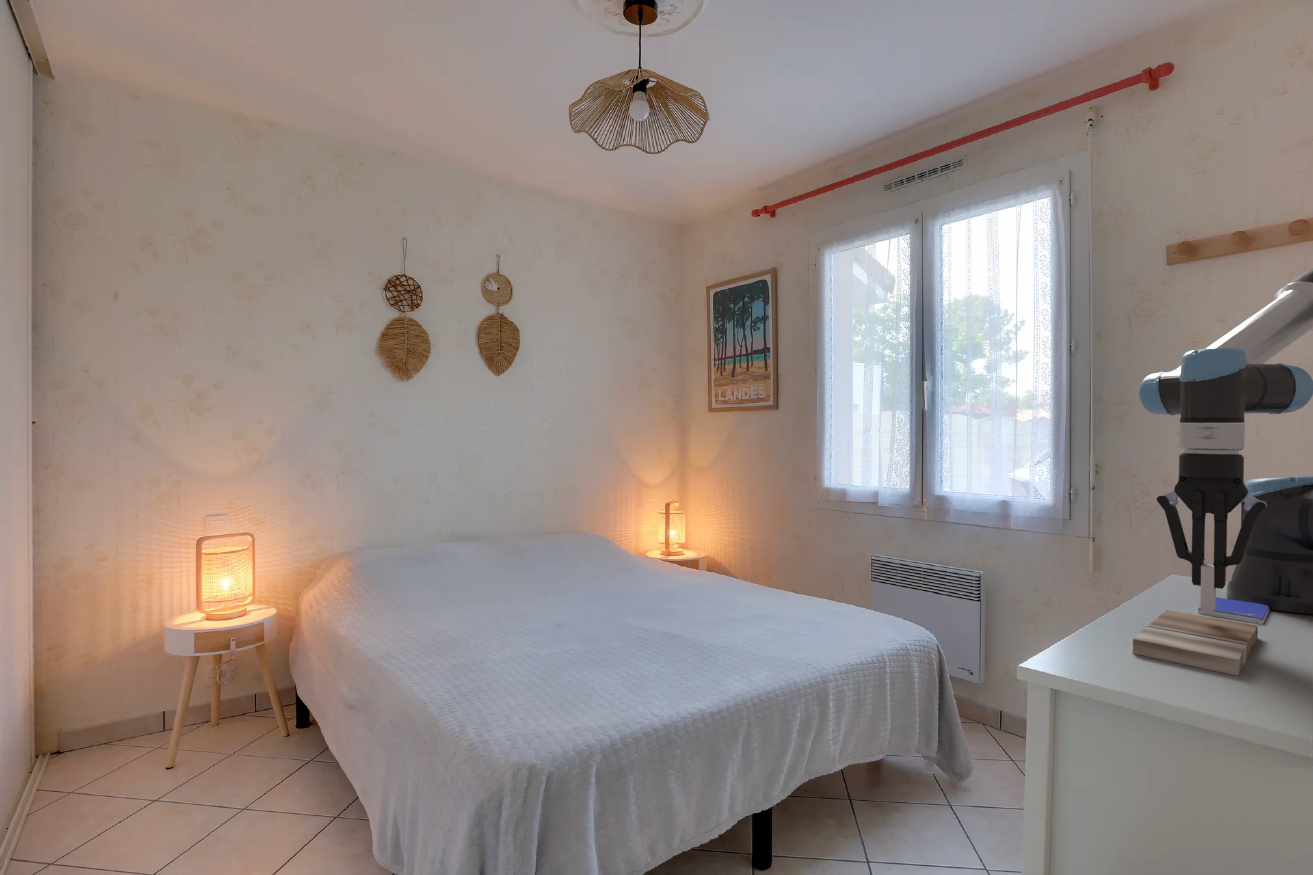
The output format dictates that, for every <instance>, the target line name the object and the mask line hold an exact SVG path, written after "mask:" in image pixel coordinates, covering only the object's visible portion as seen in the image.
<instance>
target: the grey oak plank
mask: <svg viewBox="0 0 1313 875" xmlns="http://www.w3.org/2000/svg"><path fill="white" fill-rule="evenodd" d="M1150 624H1151V623H1149V624H1147V625H1146V627H1145V628H1144V629H1143V630H1142V631H1140V632H1139V633H1138V634H1137V635H1136V636H1135V637H1133V638H1132V654H1133V655H1137V656H1139V655H1140V656H1144V657H1149V658H1153V659H1157V660H1162V661H1163V660H1164V661H1167V662H1171V663H1176V664H1182V665H1185V666H1186V665H1187V666H1190V667H1196V668H1201V669H1205V670H1209V671H1212V672H1213V671H1214V672H1219V673H1222V674H1223V673H1224V674H1228V675H1233V676H1237V677H1238V676H1239V675H1240V673H1241V671H1242V668H1243V667H1244V666H1245V663H1246V662H1247V660H1248V657H1247V648H1248V642H1242V641H1237V640H1231V639H1226V638H1221V637H1215V636H1210V635H1204V634H1199V633H1193V632H1188V631H1183V630H1177V629H1172V628H1166V627H1161V626H1156V625H1150Z"/></svg>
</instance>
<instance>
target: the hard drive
mask: <svg viewBox="0 0 1313 875" xmlns="http://www.w3.org/2000/svg"><path fill="white" fill-rule="evenodd" d="M1269 612H1270V609H1269V606H1267V605H1264V604H1257V603H1251V602H1244V601H1238V600H1232V599H1230V598H1225V597H1224V598H1223V597H1217V596H1216V608H1215V609H1214V611H1209V610H1203V609H1200V606H1199V607H1198V608H1197V614H1198V615H1205V616H1210V617H1215V618H1224V619H1227V620H1228V619H1230V620H1235V621H1239V622H1245V623H1246V622H1247V623H1252V624H1258V625H1263V624H1264V622H1265V620H1266V619H1267V616H1268V613H1269Z"/></svg>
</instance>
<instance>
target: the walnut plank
mask: <svg viewBox="0 0 1313 875" xmlns="http://www.w3.org/2000/svg"><path fill="white" fill-rule="evenodd" d="M1149 624H1150V625H1156V626H1161V627H1166V628H1172V629H1177V630H1183V631H1188V632H1193V633H1199V634H1204V635H1210V636H1215V637H1221V638H1226V639H1231V640H1237V641H1242V642H1248V648H1247V658H1248V656H1249V655H1250V653H1251V651H1252V649H1253V647H1254V646H1255V644H1256V642H1257V640H1258V632H1259V631H1258V629H1259V627H1258V626H1259V625H1256V624H1255V625H1254V624H1251V623H1246V622H1240V621H1239V622H1238V621H1233V620H1228V619H1227V620H1226V619H1221V618H1216V617H1211V616H1210V617H1209V616H1208V617H1207V616H1203V615H1199V614H1198V615H1196V614H1191V613H1187V612H1179V611H1174V610H1168V609H1167V610H1165V611H1164V612H1163V613H1162V614H1161V615H1159V616H1158V617H1156V618H1155V619H1154V620H1153V621H1152V622H1151V623H1149Z"/></svg>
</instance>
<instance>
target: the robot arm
mask: <svg viewBox="0 0 1313 875" xmlns="http://www.w3.org/2000/svg"><path fill="white" fill-rule="evenodd" d="M1310 331H1313V268H1312V267H1311V269H1309V270H1307V271H1305V272H1304V273H1302V274H1301V275H1299V276H1298V277H1296V278H1294V279H1292V280H1291V281H1289V282H1288V283H1287V284H1285V285H1284V286H1282V287H1281V288H1280V289H1279V290H1277V292H1276V293H1275V295H1274V297H1273V299H1272V301H1271V302H1270V303H1268V304H1267V305H1266V306H1265V307H1263V308H1261V309H1260V310H1259V311H1257V312H1256V313H1254V314H1253V315H1252V316H1250V317H1248V318H1247V319H1246V320H1244V321H1243V322H1242V323H1240V324H1239V325H1237V326H1235V327H1234V328H1233V329H1231V330H1230V331H1228V332H1227V333H1226V334H1224V335H1223V336H1221V337H1220V338H1219V339H1218V338H1217V340H1215V341H1214V342H1213V343H1211V344H1210V345H1208V346H1207V347H1206V348H1198V349H1193V350H1188V351H1187V352H1185V353H1184V354H1183V356H1182V357H1181V363H1180V364H1181V365H1180V366H1178V367H1176V368H1175V369H1173V370H1170V371H1169V370H1163V371H1160V372H1154V373H1151V374H1148V375H1147V376H1146V377H1144V379H1143V380H1142V382H1141V383H1140V385H1139V390H1138V396H1139V400H1140V401H1141V402H1140V403H1141V405H1142V407H1143V408H1144V409H1145V410H1147V411H1148V412H1149V413H1151V414H1155V415H1169V416H1177V415H1180V418H1179V422H1180V423H1179V435H1178V436H1179V443H1178V444H1179V445H1178V447H1179V448H1180V449H1181V450H1183V452H1181V453H1180V454H1179V455H1178V480H1177V483H1176V484H1174V488H1173V490H1172V491H1170V492H1169V491H1168V493H1165V494H1162V495H1159V496H1157V498H1156V501H1157V502H1158V505H1160V506H1161V508H1162V510H1163V512H1164V514H1165V517H1166V521H1167V525H1168V528H1169V532H1170V536H1171V538H1172V539H1171V540H1172V543H1173V547H1174V550H1175V552H1176V556H1177V557H1178V558H1179V559H1182V560H1185V561H1188V562H1189V563H1190V564H1191V583H1192V585H1193V586H1197V587H1200V604H1199V605H1200V606H1199V607H1200V609H1203V610H1209V611H1214V609H1215V608H1216V597H1217V589H1219V590H1220V589H1221V590H1223V589H1224V588H1225V586H1226V597H1227V599H1231V600H1238V601H1244V602H1251V603H1257V604H1264V605H1267V606H1269V610H1274V611H1281V612H1287V613H1294V614H1295V613H1297V614H1304V615H1313V476H1281V477H1262V478H1261V477H1260V478H1252V479H1249V480H1247V481H1246V482H1245V480H1244V478H1245V476H1244V475H1245V474H1244V472H1245V456H1243V454H1240V451H1243V450H1245V432H1246V431H1245V428H1246V425H1245V415H1246V414H1268V415H1269V414H1270V415H1273V414H1277V415H1281V414H1285V413H1286V414H1287V413H1293V412H1295V411H1298V410H1301V409H1302V408H1304V407H1305V406H1306V405H1307V404H1308V403H1309V402H1310V400H1311V399H1312V397H1313V378H1312V377H1311V374H1309V373H1308V372H1307V370H1305V369H1304V368H1302V367H1299V366H1296V365H1291V364H1284V363H1266V362H1268V361H1269V360H1271V359H1272V358H1273V357H1275V356H1277V355H1278V354H1279V353H1281V352H1282V351H1283V350H1285V349H1286V348H1287V347H1289V346H1290V345H1292V344H1293V343H1295V342H1296V341H1297V340H1299V339H1300V338H1302V337H1303V336H1305V335H1307V333H1309V332H1310ZM1178 498H1179V499H1180V500H1181V501H1182V502H1183V504H1184V505H1186V507H1187V508H1188V509H1189V511H1191V524H1192V525H1191V526H1192V527H1191V528H1192V529H1191V551H1190V550H1189V547H1188V543H1187V539H1186V536H1185V533H1184V529H1183V525H1182V522H1181V518H1180V514H1179V511H1178V508H1177V507H1176V506H1177V505H1178V503H1179V501H1178ZM1238 505H1240V506H1241V507H1240V508H1241V509H1240V514H1241V515H1240V518H1241V519H1240V528H1239V529H1240V530H1239V532H1238V535H1237V537H1236V541H1235V543H1234V545H1233V549H1232V552H1231V554H1230V555H1227V553H1228V551H1227V550H1228V549H1227V548H1228V545H1227V544H1228V543H1227V541H1228V517H1229V516H1228V514H1229V513H1232V511H1233V510H1234V509H1235V508H1236V507H1237V506H1238ZM1207 514H1211V515H1213V523H1214V524H1213V526H1214V528H1213V529H1214V530H1213V563H1211V564H1209V563H1205V562H1204V561H1205V560H1206V558H1205V544H1206V542H1205V539H1206V538H1205V537H1206V536H1205V535H1206V533H1205V532H1206V516H1207ZM1229 566H1235V567H1234V570H1233V572H1232V576H1231V579H1230V580H1229V581H1228V582H1227V581H1226V580H1227V578H1226V576H1227V567H1229ZM1226 582H1227V583H1226ZM1226 584H1227V585H1226Z"/></svg>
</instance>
